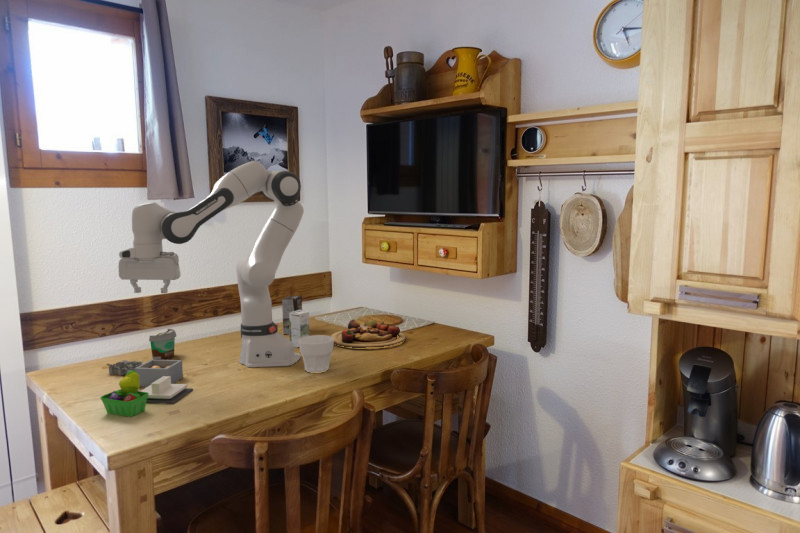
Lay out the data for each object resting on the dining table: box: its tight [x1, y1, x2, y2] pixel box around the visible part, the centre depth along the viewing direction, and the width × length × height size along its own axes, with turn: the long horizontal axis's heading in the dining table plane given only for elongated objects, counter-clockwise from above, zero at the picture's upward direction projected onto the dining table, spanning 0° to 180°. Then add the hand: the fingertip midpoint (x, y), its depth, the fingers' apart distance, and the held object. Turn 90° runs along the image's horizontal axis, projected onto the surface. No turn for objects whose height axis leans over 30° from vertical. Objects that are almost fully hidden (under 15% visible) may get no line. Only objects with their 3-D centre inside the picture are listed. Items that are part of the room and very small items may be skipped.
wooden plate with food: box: [330, 318, 407, 348], centre depth 241 cm, size 32×32×8 cm
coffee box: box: [281, 295, 303, 335], centre depth 255 cm, size 9×6×16 cm
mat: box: [146, 387, 194, 405], centre depth 176 cm, size 14×12×1 cm
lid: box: [140, 376, 189, 399], centre depth 176 cm, size 11×10×5 cm
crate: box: [135, 359, 184, 388], centre depth 190 cm, size 11×10×6 cm
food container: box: [148, 328, 177, 360], centre depth 217 cm, size 12×6×10 cm, turn 168°
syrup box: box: [289, 309, 310, 347], centre depth 232 cm, size 6×6×14 cm
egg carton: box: [106, 359, 144, 376], centre depth 201 cm, size 11×8×4 cm
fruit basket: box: [99, 371, 149, 418], centre depth 164 cm, size 11×9×11 cm
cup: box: [298, 334, 334, 373], centre depth 200 cm, size 12×12×11 cm
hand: (151, 292), depth 192 cm, fingers open, 8 cm apart
